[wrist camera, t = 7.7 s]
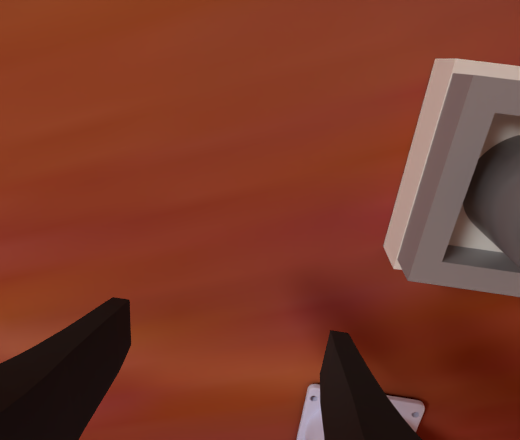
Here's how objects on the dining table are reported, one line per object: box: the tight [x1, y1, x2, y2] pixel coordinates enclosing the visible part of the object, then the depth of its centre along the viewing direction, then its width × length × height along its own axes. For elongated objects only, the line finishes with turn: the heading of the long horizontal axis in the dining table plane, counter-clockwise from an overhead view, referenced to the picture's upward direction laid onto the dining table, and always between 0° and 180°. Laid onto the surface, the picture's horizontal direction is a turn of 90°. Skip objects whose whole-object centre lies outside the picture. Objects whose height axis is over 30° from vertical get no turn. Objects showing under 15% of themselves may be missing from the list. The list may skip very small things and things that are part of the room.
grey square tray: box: [383, 59, 520, 297], centre depth 17 cm, size 10×9×4 cm
